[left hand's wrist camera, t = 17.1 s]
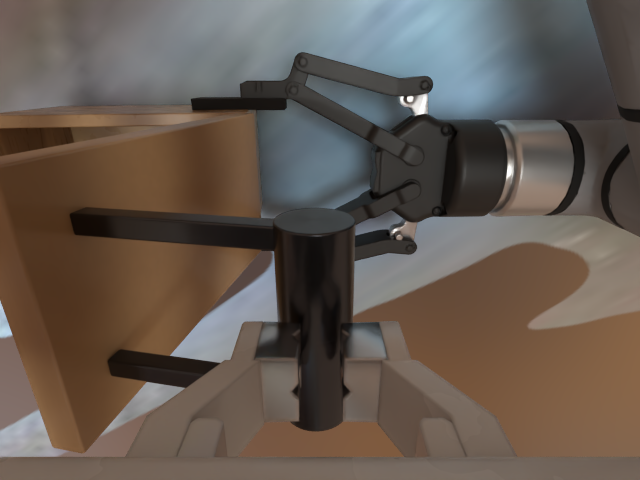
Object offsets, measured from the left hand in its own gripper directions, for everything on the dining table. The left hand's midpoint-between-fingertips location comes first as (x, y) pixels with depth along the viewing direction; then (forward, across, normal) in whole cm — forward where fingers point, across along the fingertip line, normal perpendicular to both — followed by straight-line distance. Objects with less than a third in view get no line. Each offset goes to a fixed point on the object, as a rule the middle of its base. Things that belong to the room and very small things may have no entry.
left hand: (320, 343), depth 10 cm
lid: (+9, -7, 0) cm, 11 cm away
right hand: (+22, -9, 0) cm, 23 cm away
